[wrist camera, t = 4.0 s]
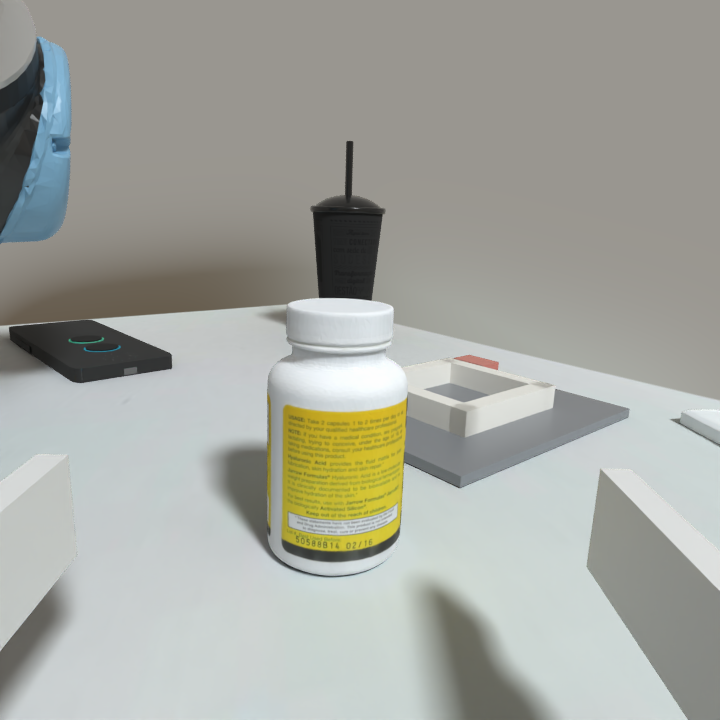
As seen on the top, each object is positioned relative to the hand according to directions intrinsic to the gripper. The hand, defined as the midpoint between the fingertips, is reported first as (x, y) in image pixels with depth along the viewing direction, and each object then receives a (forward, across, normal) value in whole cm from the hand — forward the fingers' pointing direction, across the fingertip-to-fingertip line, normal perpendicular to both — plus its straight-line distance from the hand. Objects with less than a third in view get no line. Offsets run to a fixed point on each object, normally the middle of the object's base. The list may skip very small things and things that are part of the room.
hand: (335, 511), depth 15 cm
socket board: (+26, +8, -6) cm, 27 cm away
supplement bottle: (+8, 0, -6) cm, 10 cm away
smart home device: (+40, -24, -7) cm, 47 cm away
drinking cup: (+49, 0, -6) cm, 49 cm away
